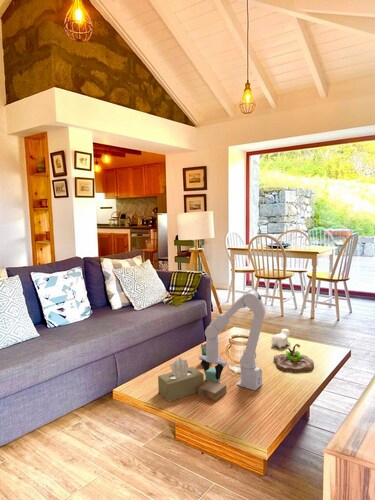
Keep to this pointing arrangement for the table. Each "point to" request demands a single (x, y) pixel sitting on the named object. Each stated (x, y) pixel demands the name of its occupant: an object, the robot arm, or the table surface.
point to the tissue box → (180, 380)
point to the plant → (293, 361)
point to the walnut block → (212, 390)
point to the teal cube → (211, 374)
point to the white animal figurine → (281, 339)
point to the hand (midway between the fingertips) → (212, 377)
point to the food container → (203, 349)
